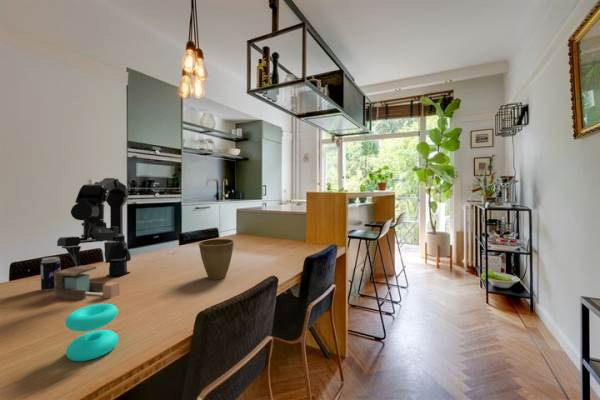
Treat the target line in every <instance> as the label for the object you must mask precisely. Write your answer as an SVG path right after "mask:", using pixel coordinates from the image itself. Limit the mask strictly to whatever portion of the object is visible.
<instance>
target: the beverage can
mask: <svg viewBox="0 0 600 400" xmlns="http://www.w3.org/2000/svg"><path fill="white" fill-rule="evenodd" d="M61 262H62V261H61V259H60V257H59V256H50V257H48V256H47V257H43V258H41V261H40V288H41V290H43V291H44V292H50V291H54V272H57V271H61V270H62V269H61V268H62V266H61Z"/></svg>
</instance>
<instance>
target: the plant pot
mask: <svg viewBox="0 0 600 400" xmlns="http://www.w3.org/2000/svg"><path fill="white" fill-rule="evenodd" d="M234 243H235V240H233V239H229V238H216V239H215V238H213V239H205V240H202V241H200V242H198V248H199V253H200V257H201V261H202V264H203V267H204V270H205V272H206V274H207V278H208V279H209V280H213V281H215V280H221V279H222V280H223V279H224V278H226V276H227V274H228V271H229V268H230V264H231V261H232V256H233V250H234Z"/></svg>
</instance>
